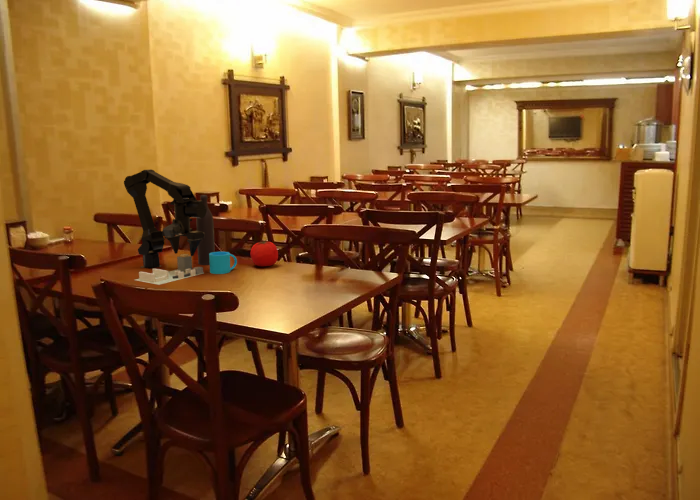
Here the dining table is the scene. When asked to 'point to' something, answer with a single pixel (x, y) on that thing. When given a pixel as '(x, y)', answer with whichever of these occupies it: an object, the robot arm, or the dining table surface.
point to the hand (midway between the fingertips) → (184, 254)
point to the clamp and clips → (192, 272)
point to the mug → (221, 262)
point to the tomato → (264, 253)
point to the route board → (171, 274)
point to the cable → (184, 276)
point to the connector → (184, 262)
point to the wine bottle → (208, 228)
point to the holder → (154, 275)
